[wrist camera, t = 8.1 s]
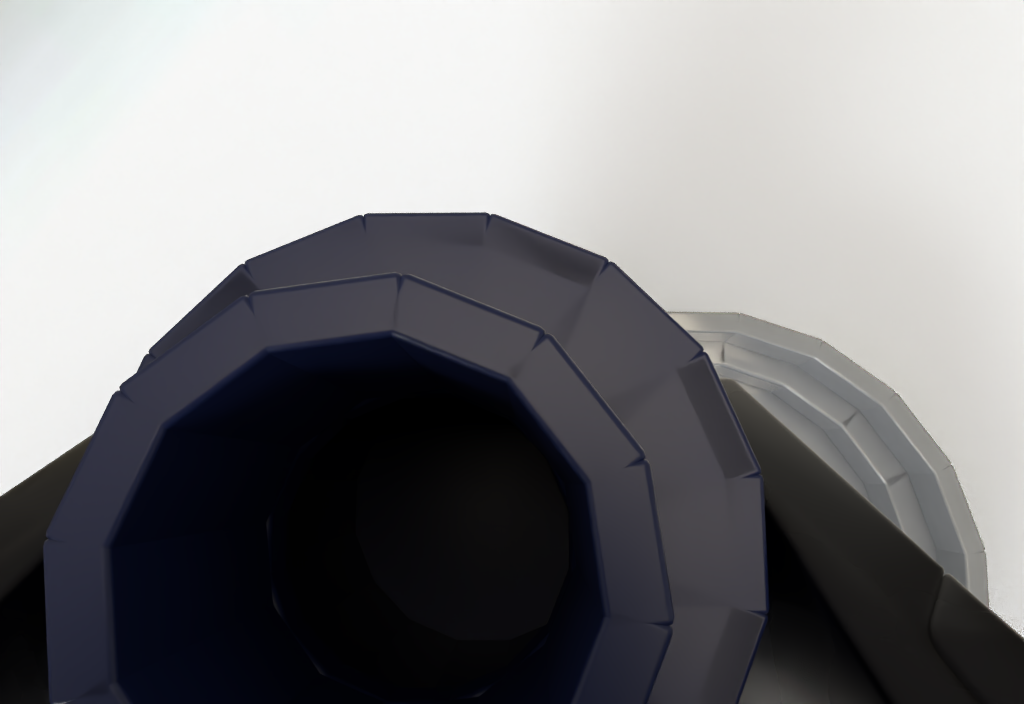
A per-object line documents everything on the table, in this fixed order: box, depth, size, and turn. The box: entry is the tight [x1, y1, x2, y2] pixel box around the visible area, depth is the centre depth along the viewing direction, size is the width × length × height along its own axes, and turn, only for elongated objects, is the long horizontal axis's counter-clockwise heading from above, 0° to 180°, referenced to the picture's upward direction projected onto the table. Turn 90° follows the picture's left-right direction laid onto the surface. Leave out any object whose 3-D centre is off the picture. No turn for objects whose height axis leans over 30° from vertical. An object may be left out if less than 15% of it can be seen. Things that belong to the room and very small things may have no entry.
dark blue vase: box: [43, 212, 770, 704], centre depth 10 cm, size 6×6×12 cm
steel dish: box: [667, 312, 989, 608], centre depth 20 cm, size 13×13×3 cm
